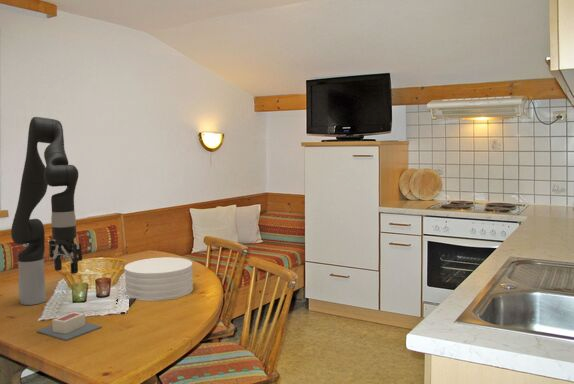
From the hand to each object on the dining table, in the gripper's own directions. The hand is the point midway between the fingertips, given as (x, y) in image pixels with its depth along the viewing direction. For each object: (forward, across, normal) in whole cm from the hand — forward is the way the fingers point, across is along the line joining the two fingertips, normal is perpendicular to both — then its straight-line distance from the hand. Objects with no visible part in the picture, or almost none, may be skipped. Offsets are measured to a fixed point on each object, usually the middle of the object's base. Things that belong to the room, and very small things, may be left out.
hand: (66, 271), depth 182 cm
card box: (+20, 0, 0) cm, 20 cm away
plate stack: (+20, +7, -49) cm, 54 cm away
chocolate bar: (+21, +4, -25) cm, 33 cm away
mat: (+20, 0, 0) cm, 20 cm away
